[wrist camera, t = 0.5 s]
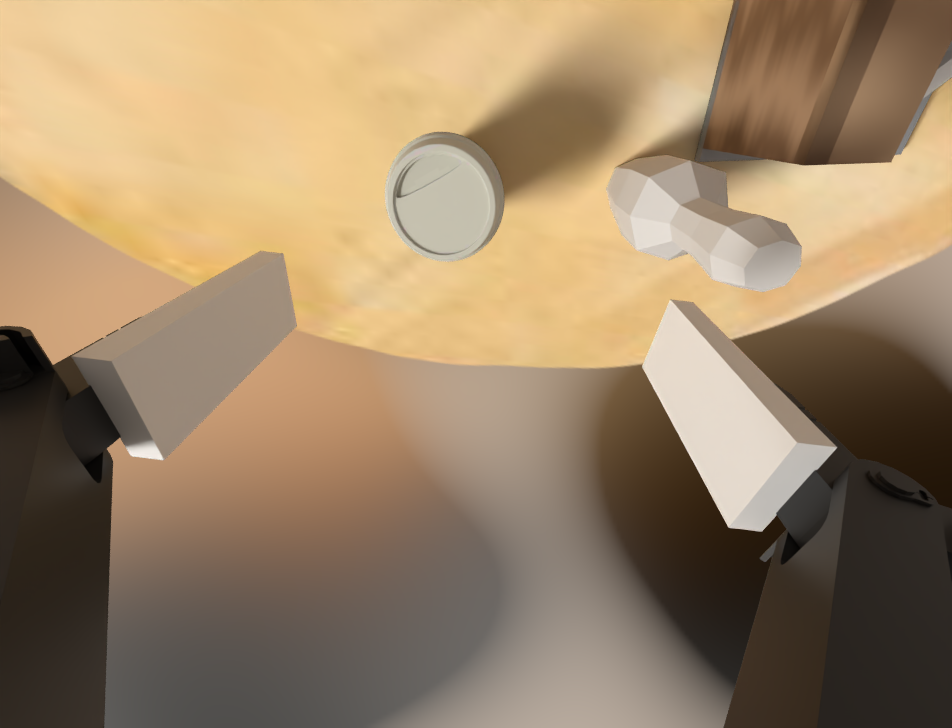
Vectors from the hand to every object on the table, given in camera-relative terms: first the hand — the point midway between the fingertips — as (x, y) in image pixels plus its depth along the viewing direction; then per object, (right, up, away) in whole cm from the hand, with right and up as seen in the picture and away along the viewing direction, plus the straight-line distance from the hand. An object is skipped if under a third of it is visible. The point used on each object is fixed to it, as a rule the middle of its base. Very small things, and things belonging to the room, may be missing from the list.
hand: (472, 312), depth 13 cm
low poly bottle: (+15, +15, +22) cm, 30 cm away
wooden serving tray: (+21, +23, +16) cm, 35 cm away
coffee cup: (-1, +16, +22) cm, 27 cm away
